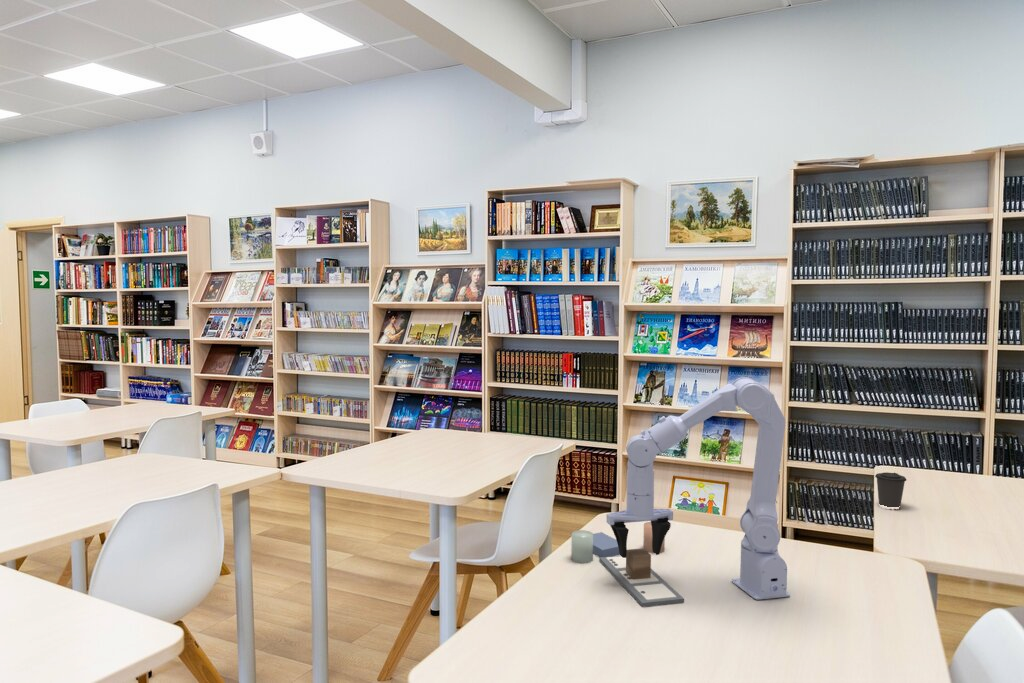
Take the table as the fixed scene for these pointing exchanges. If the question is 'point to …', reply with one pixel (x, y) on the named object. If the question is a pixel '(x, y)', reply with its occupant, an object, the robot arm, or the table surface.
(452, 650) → the table surface
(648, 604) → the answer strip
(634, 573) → the block
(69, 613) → the table surface
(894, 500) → the coffee cup
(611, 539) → the slate blue flat block
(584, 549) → the sage dome-ended cylinder
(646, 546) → the peach dome-topped cylinder
